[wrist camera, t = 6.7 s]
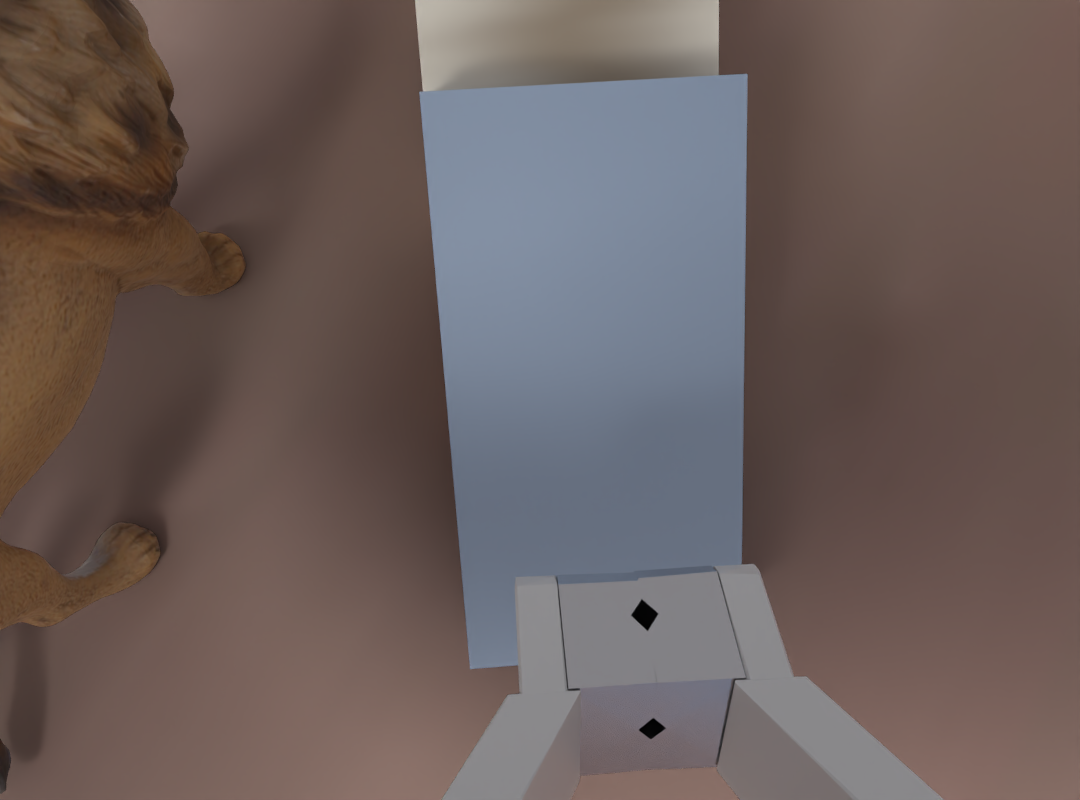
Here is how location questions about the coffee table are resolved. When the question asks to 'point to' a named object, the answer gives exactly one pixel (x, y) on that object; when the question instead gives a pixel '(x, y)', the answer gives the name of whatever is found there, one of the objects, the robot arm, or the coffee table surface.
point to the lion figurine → (81, 256)
